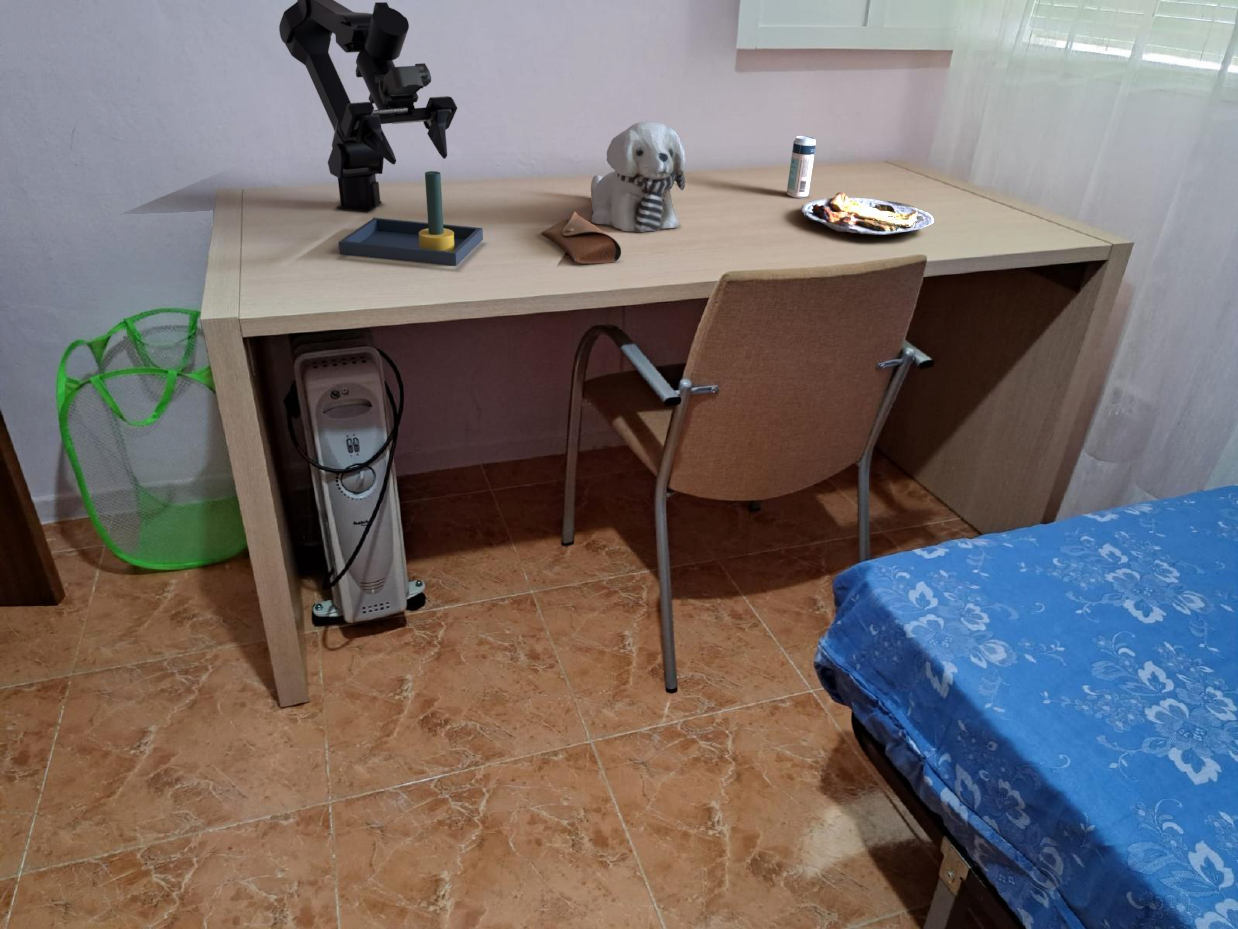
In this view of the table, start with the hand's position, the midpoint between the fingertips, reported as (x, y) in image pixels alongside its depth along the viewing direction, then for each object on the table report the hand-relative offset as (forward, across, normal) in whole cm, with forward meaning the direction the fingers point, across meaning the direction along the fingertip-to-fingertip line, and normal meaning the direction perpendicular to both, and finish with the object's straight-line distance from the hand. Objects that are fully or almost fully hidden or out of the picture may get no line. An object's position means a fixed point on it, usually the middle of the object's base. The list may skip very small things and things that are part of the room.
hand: (420, 159), depth 148 cm
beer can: (+16, +84, +5) cm, 86 cm away
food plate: (+32, +80, -10) cm, 86 cm away
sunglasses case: (+20, +22, +1) cm, 30 cm away
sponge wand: (+14, -2, +5) cm, 15 cm away
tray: (+11, -3, +9) cm, 15 cm away
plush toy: (+12, +43, +9) cm, 46 cm away
